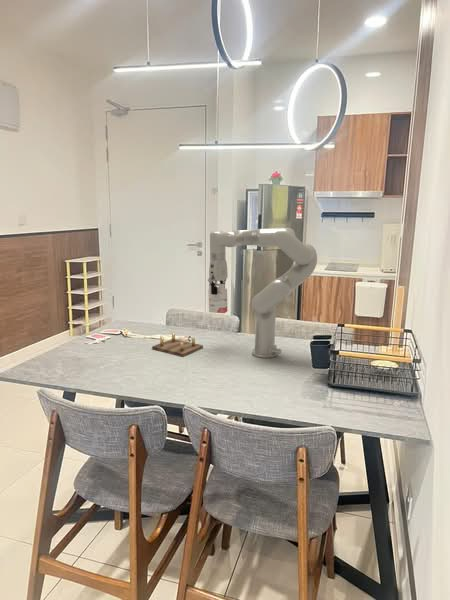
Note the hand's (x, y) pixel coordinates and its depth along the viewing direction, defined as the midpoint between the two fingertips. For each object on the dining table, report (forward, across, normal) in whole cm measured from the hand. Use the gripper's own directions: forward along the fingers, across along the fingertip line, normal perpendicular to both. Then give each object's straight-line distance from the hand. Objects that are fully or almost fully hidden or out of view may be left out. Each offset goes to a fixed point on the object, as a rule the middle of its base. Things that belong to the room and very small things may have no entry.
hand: (218, 292), depth 210 cm
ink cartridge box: (+10, 0, 0) cm, 10 cm away
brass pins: (+27, -12, +17) cm, 34 cm away
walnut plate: (+28, -12, +17) cm, 35 cm away
